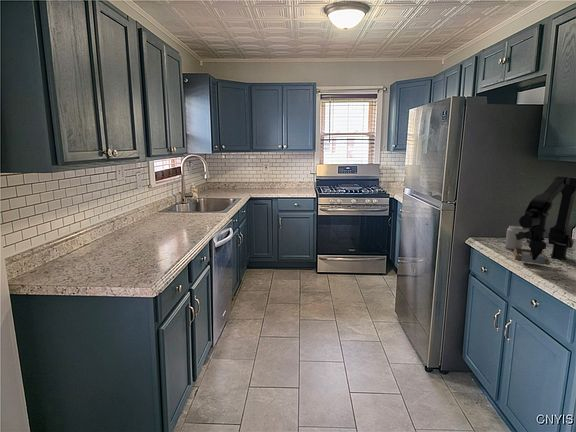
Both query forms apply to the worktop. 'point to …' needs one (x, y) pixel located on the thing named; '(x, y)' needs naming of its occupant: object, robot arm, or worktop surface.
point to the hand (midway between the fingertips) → (533, 258)
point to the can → (513, 238)
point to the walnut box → (524, 251)
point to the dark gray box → (528, 258)
